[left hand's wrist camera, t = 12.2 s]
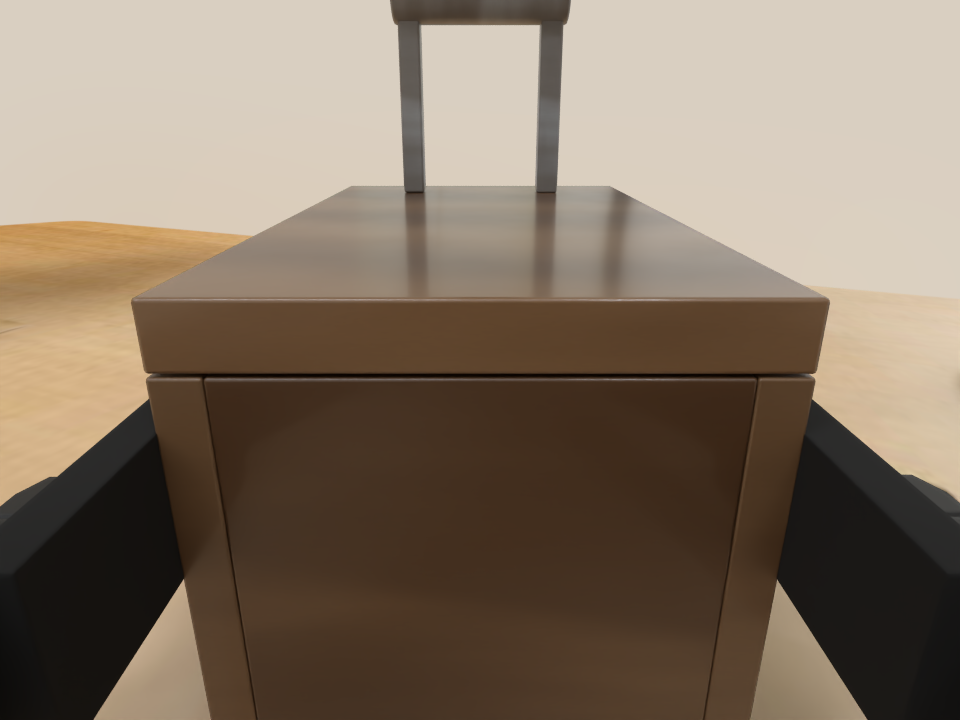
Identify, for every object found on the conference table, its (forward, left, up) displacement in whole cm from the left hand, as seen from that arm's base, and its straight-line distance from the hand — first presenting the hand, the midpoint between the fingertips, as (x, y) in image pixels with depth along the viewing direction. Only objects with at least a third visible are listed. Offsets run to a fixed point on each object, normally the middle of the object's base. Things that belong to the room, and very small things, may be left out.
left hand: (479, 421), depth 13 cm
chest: (+4, -2, -7) cm, 8 cm away
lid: (+4, -3, +2) cm, 6 cm away
